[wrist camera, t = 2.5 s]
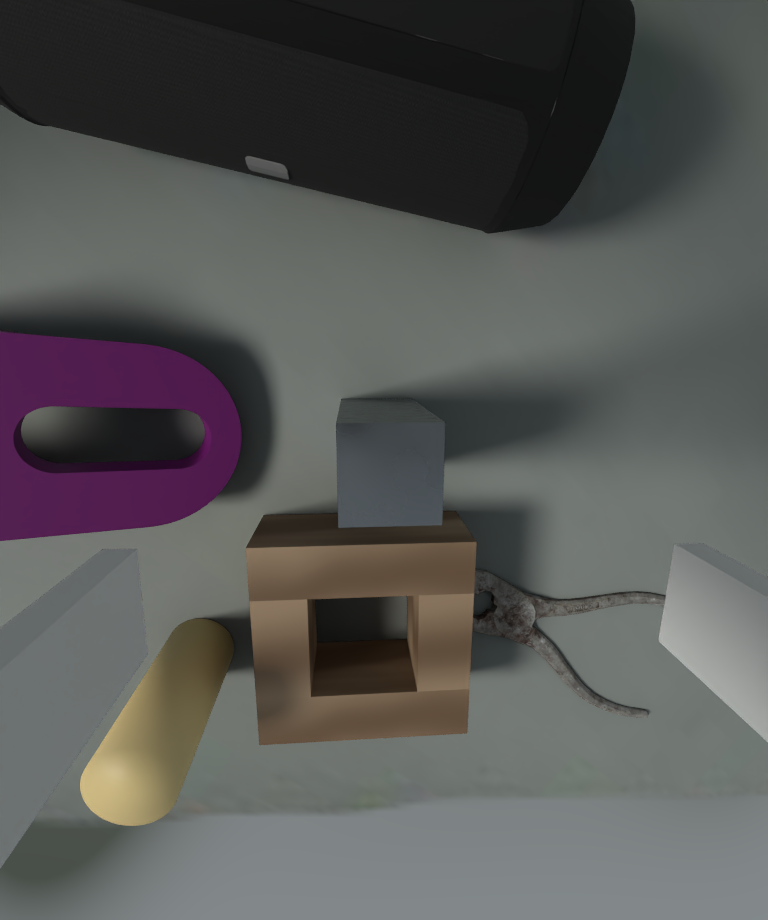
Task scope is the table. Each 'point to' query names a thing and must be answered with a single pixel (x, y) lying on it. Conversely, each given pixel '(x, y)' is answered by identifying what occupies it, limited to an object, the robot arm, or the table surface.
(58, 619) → the robot arm
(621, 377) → the table surface
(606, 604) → the pliers
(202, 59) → the portable speaker
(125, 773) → the round peg
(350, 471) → the square peg
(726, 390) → the table surface
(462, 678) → the socket block
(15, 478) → the mounting bracket
